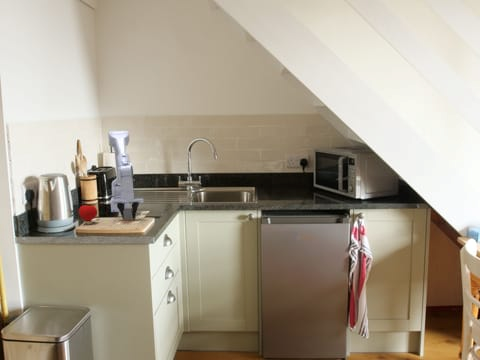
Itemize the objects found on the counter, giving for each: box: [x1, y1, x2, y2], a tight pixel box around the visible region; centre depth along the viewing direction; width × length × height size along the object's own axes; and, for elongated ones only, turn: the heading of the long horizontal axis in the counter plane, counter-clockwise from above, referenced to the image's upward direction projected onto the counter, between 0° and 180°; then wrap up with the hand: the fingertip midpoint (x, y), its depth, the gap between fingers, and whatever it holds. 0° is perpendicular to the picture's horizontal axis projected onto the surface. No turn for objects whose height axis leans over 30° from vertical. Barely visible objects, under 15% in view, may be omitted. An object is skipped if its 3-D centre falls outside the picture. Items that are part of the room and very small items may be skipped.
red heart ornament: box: [78, 204, 98, 225], centre depth 207 cm, size 9×7×10 cm
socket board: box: [112, 210, 150, 225], centre depth 217 cm, size 12×26×2 cm, turn 0°
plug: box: [123, 207, 135, 221], centre depth 211 cm, size 4×4×7 cm
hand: (129, 218), depth 211 cm, fingers open, 4 cm apart
